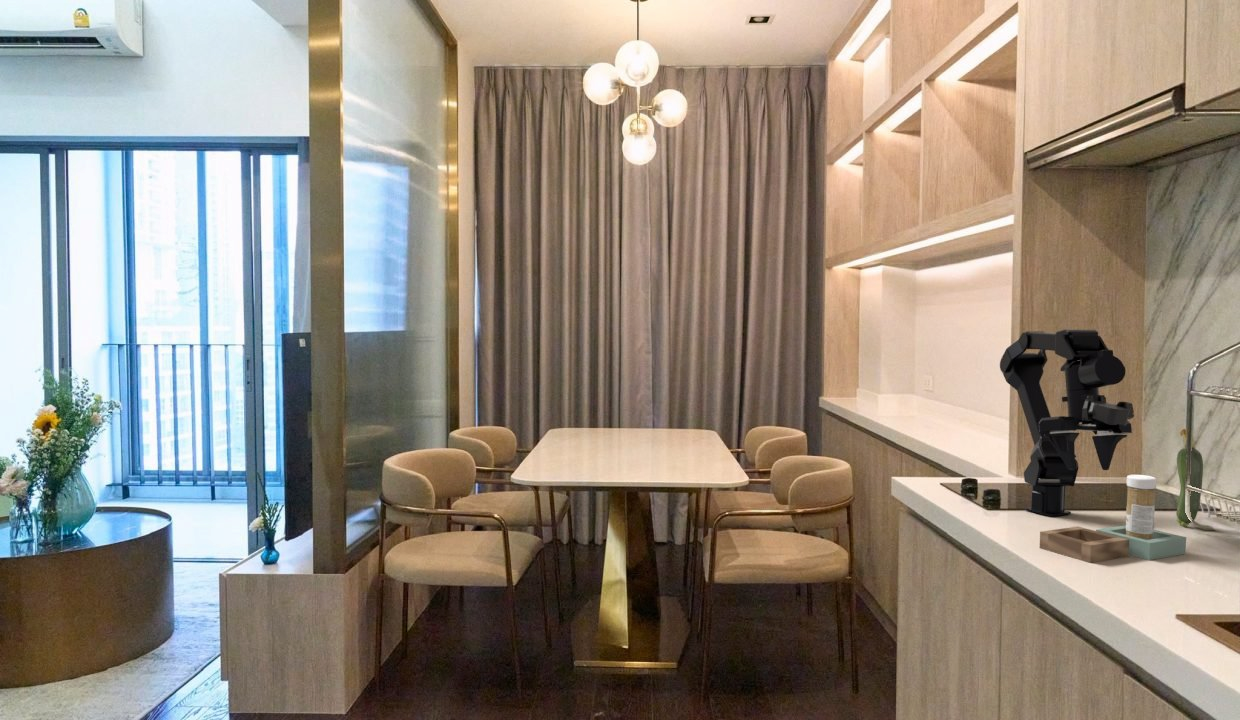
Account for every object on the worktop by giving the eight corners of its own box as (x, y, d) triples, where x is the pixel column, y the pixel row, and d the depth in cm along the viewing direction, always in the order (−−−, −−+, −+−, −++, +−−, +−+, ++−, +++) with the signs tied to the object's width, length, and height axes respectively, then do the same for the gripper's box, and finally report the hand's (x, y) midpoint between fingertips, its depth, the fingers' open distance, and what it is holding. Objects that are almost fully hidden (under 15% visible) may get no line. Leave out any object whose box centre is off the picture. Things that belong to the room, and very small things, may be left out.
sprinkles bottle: (1126, 544, 155) (1129, 472, 154) (1155, 549, 152) (1158, 475, 152) (1122, 549, 152) (1124, 476, 151) (1152, 554, 149) (1154, 479, 148)
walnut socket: (1077, 542, 157) (1077, 526, 156) (1128, 556, 147) (1129, 539, 147) (1039, 547, 152) (1040, 531, 152) (1090, 562, 143) (1090, 545, 143)
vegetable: (1199, 526, 169) (1203, 428, 168) (1201, 531, 165) (1205, 430, 164) (1173, 523, 171) (1177, 426, 170) (1174, 528, 168) (1178, 429, 167)
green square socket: (1131, 540, 158) (1131, 524, 158) (1185, 553, 149) (1186, 537, 149) (1095, 545, 154) (1096, 529, 154) (1149, 560, 145) (1149, 543, 145)
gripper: (1082, 384, 156) (1089, 468, 154) (1153, 389, 163) (1161, 469, 160) (1034, 390, 167) (1039, 469, 164) (1103, 395, 173) (1109, 470, 171)
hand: (1088, 469), depth 165 cm, fingers open, 9 cm apart
